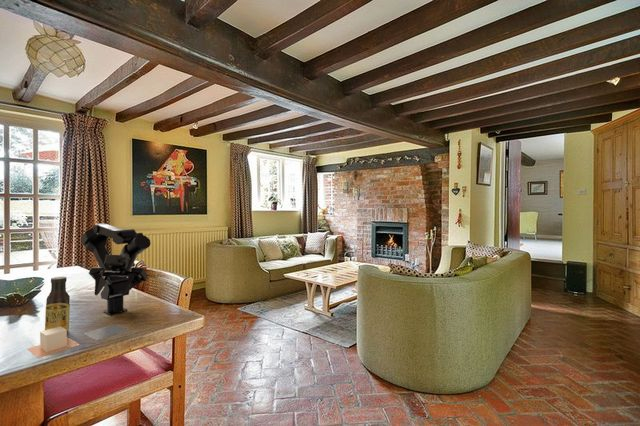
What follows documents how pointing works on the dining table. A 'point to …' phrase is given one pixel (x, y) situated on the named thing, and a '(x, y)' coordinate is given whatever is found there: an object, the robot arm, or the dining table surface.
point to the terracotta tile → (40, 352)
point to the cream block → (53, 339)
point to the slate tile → (105, 332)
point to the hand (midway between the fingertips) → (109, 294)
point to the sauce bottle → (57, 305)
